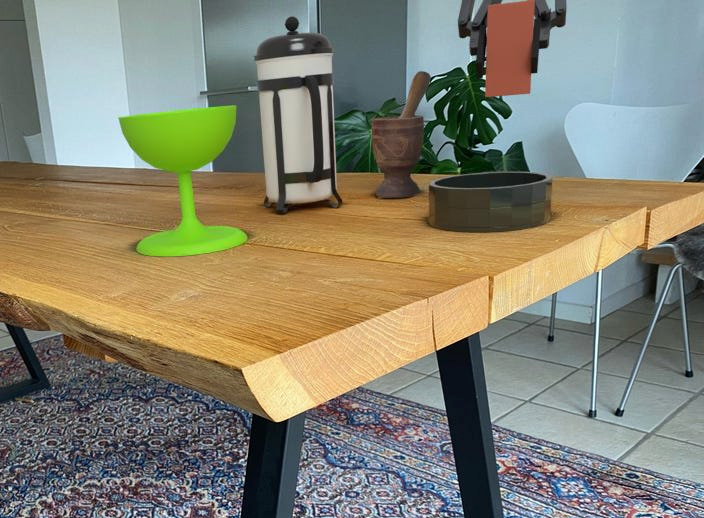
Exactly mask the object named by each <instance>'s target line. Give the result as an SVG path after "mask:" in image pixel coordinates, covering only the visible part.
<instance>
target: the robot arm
mask: <svg viewBox="0 0 704 518" xmlns="http://www.w3.org/2000/svg"><path fill="white" fill-rule="evenodd" d="M502 2H503V0H482V2H481V3H480V5H479V7H478V9H477V11H476V13H475V15H474V17H473V12H474V8H475V3H476V0H461V4H460V9H459V12H458V18H457V29H458V31H457V32H458V37H459V38H460V39H466V38H467V37H469V42H468V43H469V44H468V45H469V55H470V57H475V56H476V57H475V73H476V74H475V75H476V80H479V79H484V72H485V64H486V48H487V12H488V5H495V4H502ZM567 7H568V6H567V0H554V11H552V8H551V7H549V5H548V3H547V0H535V7H534V27H533V41H532V53H531V75H532V74H538V71H539V57H540V50H543V49H548V48H549V46H550V36H551V30H552V29H553V28H564V27H565V26H566V24H567V23H566V22H567V10H568V9H567Z"/></svg>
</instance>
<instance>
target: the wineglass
mask: <svg viewBox="0 0 704 518" xmlns="http://www.w3.org/2000/svg"><path fill="white" fill-rule="evenodd" d="M117 118H118V121H119V125H120V129H121V134H122V135H123V137H124V139H125V141H126V142H127V144H128V146H129V148H130V149H131V150H132V151H133V153H135V154H136V156H137V157H139V158H140V159H141V160H142V161H143V162H144V163H146V164H148V165H150V166H151V167H153V168H155V169H158V170H161V171H165V172H168V173H176V175H177V183H178V191H179V200H180V201H179V202H180V208H181V209H180V210H181V220H180V223H179V225H178V226H177V228H175V229H168V230H164V231H160V232H157V233H153V234H150V235H148V236H146V237H144V238H142V239H141V240H140V241H139V242H138V244H137V245H136V248H135V249H136V252H137V253H139V254H140V255H145V256H150V257H185V256H197V255H203V254H210V253H215V252H221V251H226V250H228V249H233V248H236V247H238V246H241V245H243V244H245V243H246V242H247V241H248V235H247V234H246V233H245V232H244V231H243V230H242V229H240V228H237V227H232V226H226V225H204V224H202V223H201V222H200V220H199V219H198V218H197V215H196V214H197V213H196V205H195V198H194V197H195V196H194V187H193V178H192V171H198V170H199V169H201V168H203V167H205V166H207V165H208V164H211V163H212V162H213V161H214V160H215V159H216V158H217V157H219V155H221V154H222V153H223V151H224V150H225V148H226V147H227V146H228V143H229V142H230V140H231V138H232V137H233V132H234V129H235V126H236V122H237V105H221V106H209V107H197V108H186V109H178V110H176V109H175V110H167V111H158V112H150V113H149V112H148V113H140V114H133V115H132V114H131V115H125V116H124V115H123V116H119V117H117Z"/></svg>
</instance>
